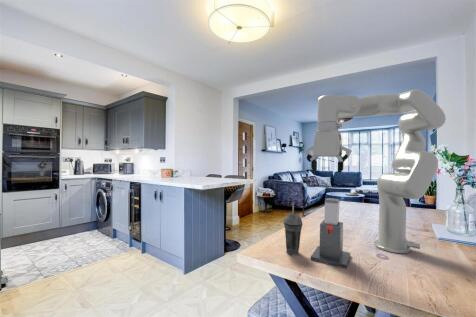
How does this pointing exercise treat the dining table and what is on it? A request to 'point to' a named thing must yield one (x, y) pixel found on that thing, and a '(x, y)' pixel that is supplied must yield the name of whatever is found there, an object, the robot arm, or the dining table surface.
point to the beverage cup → (292, 232)
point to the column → (331, 211)
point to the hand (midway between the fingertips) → (326, 171)
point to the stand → (331, 246)
